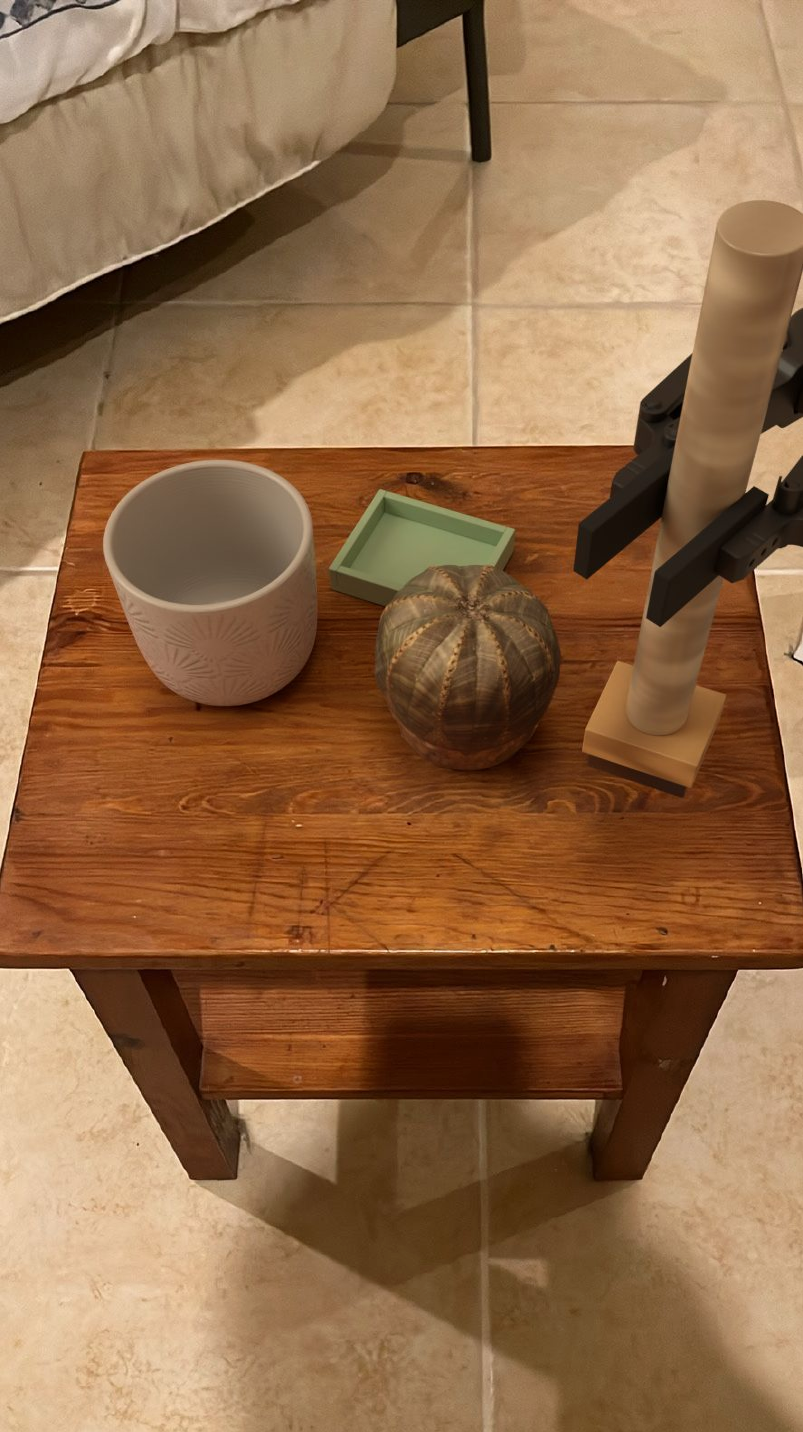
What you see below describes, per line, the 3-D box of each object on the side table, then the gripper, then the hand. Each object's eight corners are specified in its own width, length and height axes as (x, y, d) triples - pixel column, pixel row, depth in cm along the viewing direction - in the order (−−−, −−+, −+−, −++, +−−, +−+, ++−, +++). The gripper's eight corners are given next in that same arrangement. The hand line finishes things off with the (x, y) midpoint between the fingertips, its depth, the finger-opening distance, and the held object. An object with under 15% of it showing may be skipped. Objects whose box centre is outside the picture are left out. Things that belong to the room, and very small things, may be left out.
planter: (336, 586, 88) (323, 461, 78) (315, 732, 81) (298, 615, 72) (158, 579, 89) (124, 454, 79) (123, 722, 82) (82, 605, 73)
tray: (514, 550, 89) (515, 528, 87) (468, 633, 85) (468, 613, 84) (380, 509, 91) (379, 488, 90) (330, 589, 88) (328, 568, 86)
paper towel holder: (715, 735, 70) (870, 205, 44) (686, 805, 67) (833, 289, 42) (610, 701, 71) (701, 169, 46) (578, 769, 69) (656, 248, 43)
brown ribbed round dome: (360, 784, 79) (347, 657, 69) (402, 650, 85) (396, 514, 74) (533, 816, 78) (547, 691, 67) (565, 677, 83) (582, 542, 73)
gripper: (1061, 449, 61) (764, 740, 52) (777, 305, 67) (471, 545, 59) (1133, 307, 54) (808, 614, 46) (811, 163, 61) (474, 410, 52)
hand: (620, 575), depth 52 cm, fingers closed on paper towel holder, 3 cm apart
